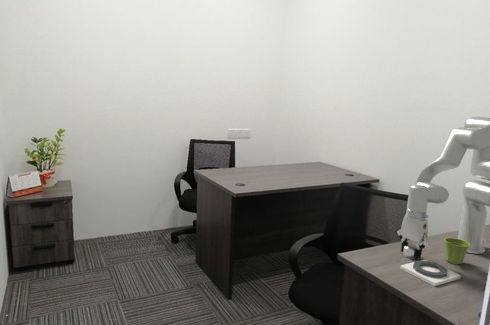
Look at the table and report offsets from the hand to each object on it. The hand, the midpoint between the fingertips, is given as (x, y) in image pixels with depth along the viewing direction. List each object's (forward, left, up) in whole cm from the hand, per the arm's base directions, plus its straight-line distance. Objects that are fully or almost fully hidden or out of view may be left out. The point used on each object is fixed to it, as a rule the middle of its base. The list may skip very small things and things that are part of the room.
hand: (410, 254), depth 156 cm
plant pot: (-13, +11, -1) cm, 17 cm away
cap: (0, 0, -1) cm, 1 cm away
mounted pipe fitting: (+7, +14, -1) cm, 16 cm away
